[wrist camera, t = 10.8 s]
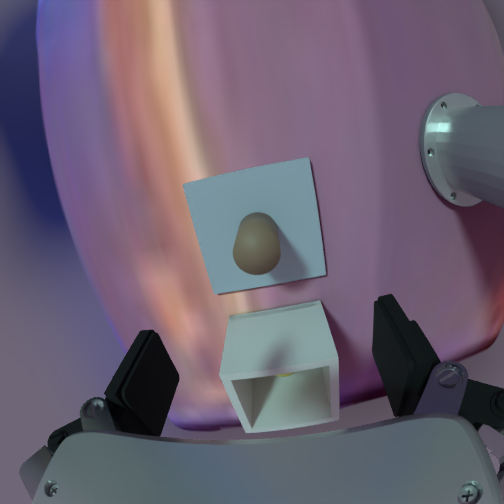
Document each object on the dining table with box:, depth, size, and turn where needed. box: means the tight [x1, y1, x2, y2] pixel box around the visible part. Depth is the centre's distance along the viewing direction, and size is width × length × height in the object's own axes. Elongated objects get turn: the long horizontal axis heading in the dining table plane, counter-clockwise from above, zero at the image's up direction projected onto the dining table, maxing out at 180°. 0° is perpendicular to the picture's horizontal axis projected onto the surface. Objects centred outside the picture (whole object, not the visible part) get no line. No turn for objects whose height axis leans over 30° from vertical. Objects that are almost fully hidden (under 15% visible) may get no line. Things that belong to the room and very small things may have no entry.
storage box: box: [219, 300, 339, 433], centre depth 28 cm, size 10×10×9 cm
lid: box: [183, 157, 326, 294], centre depth 24 cm, size 12×12×6 cm
